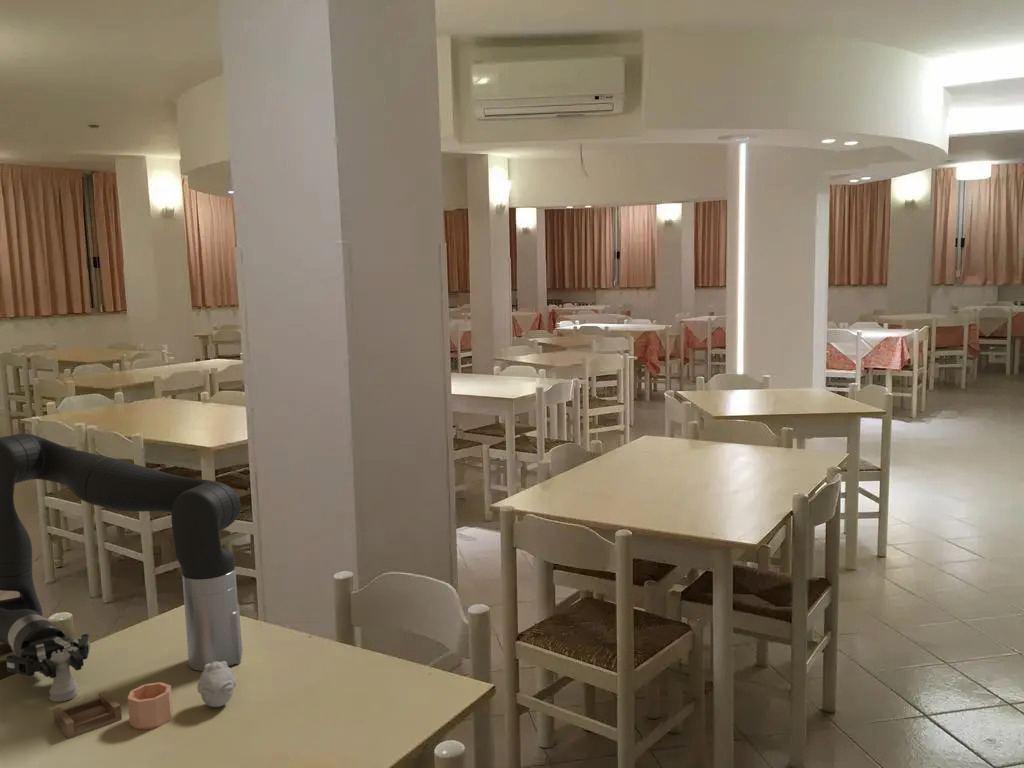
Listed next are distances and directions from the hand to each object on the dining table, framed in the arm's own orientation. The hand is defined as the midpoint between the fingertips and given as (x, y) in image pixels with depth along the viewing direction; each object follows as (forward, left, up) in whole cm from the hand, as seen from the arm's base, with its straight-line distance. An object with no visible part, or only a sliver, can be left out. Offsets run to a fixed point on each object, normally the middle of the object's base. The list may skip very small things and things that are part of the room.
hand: (66, 668), depth 142 cm
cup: (-15, +11, -6) cm, 19 cm away
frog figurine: (-25, +9, -6) cm, 27 cm away
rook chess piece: (+1, -2, -6) cm, 7 cm away
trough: (-5, +8, -6) cm, 11 cm away
